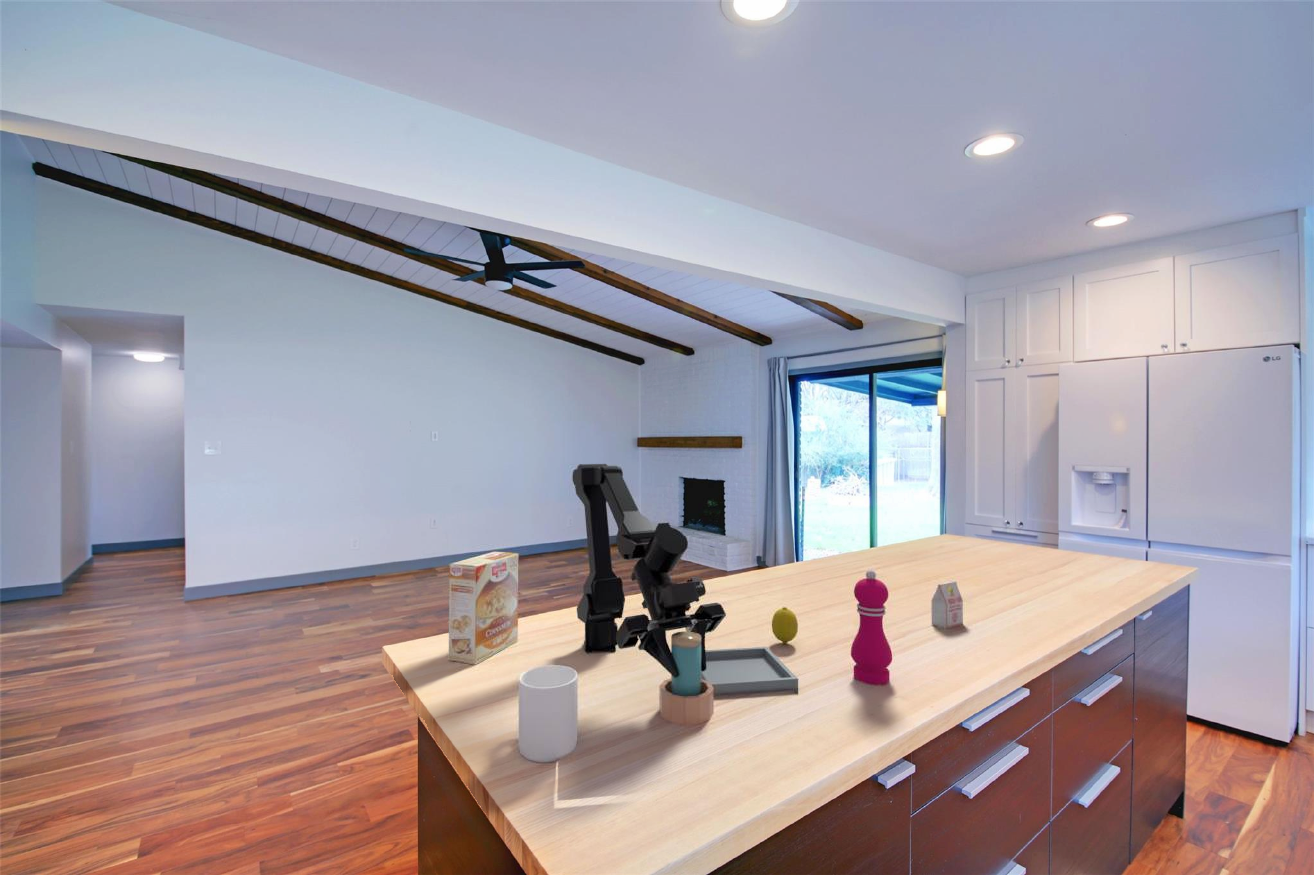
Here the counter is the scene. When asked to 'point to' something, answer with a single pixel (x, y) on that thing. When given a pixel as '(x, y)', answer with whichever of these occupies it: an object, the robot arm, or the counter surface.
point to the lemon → (784, 625)
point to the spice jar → (686, 663)
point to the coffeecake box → (483, 606)
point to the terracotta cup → (686, 704)
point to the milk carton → (947, 606)
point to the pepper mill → (871, 632)
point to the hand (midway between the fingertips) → (690, 673)
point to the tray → (747, 672)
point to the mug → (548, 712)
